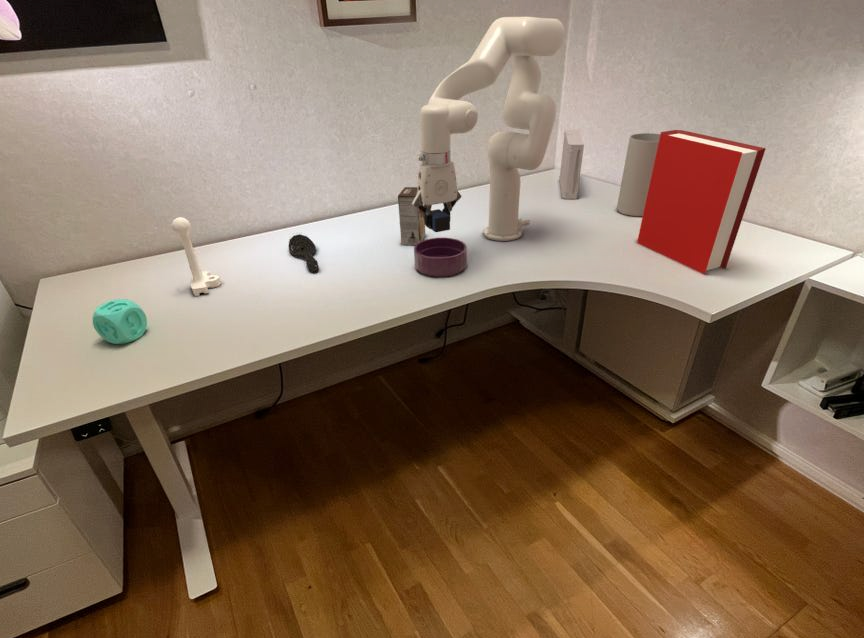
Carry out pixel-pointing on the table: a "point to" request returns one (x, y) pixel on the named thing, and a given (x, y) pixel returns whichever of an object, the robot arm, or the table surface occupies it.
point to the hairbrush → (304, 251)
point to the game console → (571, 164)
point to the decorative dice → (119, 321)
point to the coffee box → (410, 217)
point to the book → (698, 197)
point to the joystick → (194, 260)
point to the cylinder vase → (637, 173)
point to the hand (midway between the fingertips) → (437, 225)
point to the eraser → (440, 220)
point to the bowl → (440, 257)
